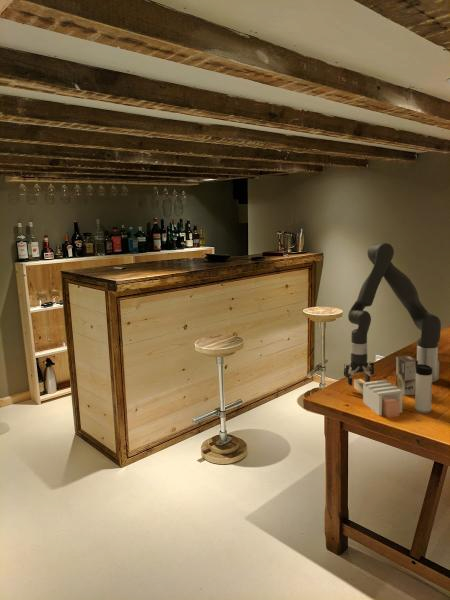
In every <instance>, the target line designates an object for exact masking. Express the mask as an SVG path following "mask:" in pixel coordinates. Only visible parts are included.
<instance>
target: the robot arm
mask: <svg viewBox="0 0 450 600" xmlns="http://www.w3.org/2000/svg"><path fill="white" fill-rule="evenodd" d="M394 255H395V249H394V247H393V246H392V245H391V244H390V243H388V242H380V243H374V244H371V245H370V246H369V247H368V248H367V257H368V260H369V261H370V263H371V264H372V265H373V267H372V269H371V271H370V273H369V275H367V277H366V279H365V280H364V282H363V283H362V285H361V288H360V289H359V290H360V291H359V293H358V296H357V299H356V300H355V302H354V303H353V305H352V306H351V307H350V310H349V311H348V314H347V315H348V316H347V318H348V321H349V322H350V323H351V324H352V325H353V324H354V325H357V326H358V327H357V328H355V329H353V330H352V331H351V339H350V340H351V342H350V364H347V363H344V365H343V376H344V377H345V378H347V384H348V385H349V386H353V377H354V376H355V375H356V374H358V373H365V382H371V376H372V375H374V374H375V364H374V362H373V361H371V360H369V361H368V352H369V350H368V333H369V330H370V326H371V323H372V316H371V313H369V311H367V310H365V308H367V307H371V306H372V305H373V303H374V300H375V297H376V294H377V291H378V288H379V285H380V284H381V281H382V280H383V279H384V280H385V281H386V282H387V284H388V286H389V287H390V288H391V290H392V292H393V293H394V295H395V296H396V298H397V299H398V300H399V301H400V303H401V304H402V306H403V307H404V308H405V309H406V311H407V312H408V314H409V316H410V318H411V319H412V321H413V323H414V325H415V327H416V328H417V329H418V330H420V331H421V334H420V338H418V339H417V341H416V360H418V364H423V365H428V366H429V367H431V368H432V383H436V382H437V381H439V380H440V378H439V377H440V360H438V355H439V354H438V353H439V352H438V351H439V343H440V341H441V331H442V330H441V329H442V328H441V327H442V324H441V323H442V322H441V319H440V318H439V317H438V316H437V315H435V314H433V313H430V312H429V311H428V310H427V309H426V308H425V306H424V305H423V304H422V302H421V301H420V298H419V293H418V289H417V288H416V286H415V285H414V283H413V282H412V280H411V279H410V278H409V277H408V276H407V275H406V274H405V273H404V272H403V271H401V269H399V268H397V266H396V265H394V264H393V263H392V260H393V257H394ZM367 368H368V369H367Z"/></svg>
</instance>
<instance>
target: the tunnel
mask: <svg viewBox="0 0 450 600" xmlns="http://www.w3.org/2000/svg"><path fill="white" fill-rule="evenodd" d="M382 396H384V397H385V398H394V399H396V400H397V401H398V402H400V413H403V394H402V390H400V389H397V387H396V385H393V383H391V382H388V380H386V379H381V380H374V381H370V382H366V381H364V384H363V395H362V403H364V405H366V406H367V407H368V408H369V409H371V411H373V412H375V414H377V415H378V416H382V415H383V413H382Z"/></svg>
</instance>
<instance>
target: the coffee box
mask: <svg viewBox="0 0 450 600" xmlns="http://www.w3.org/2000/svg"><path fill="white" fill-rule="evenodd" d="M395 361H396V363H395V367H396V369H395V374H396V376H395V379H396V380H395V386H396V387H397V389H400V390H402V395H404V396H411V395H412V396H413V395H415V385H416V367H415V365H417V364H418V360H417V358H414V357H413V356H411V355H410V354H407V355H399V356H395Z"/></svg>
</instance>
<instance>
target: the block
mask: <svg viewBox="0 0 450 600" xmlns="http://www.w3.org/2000/svg"><path fill="white" fill-rule="evenodd" d="M383 413H384V414H383ZM382 414H383V415H385V417H387V418H393V417H400V416H401V415H400V402H398V401H397V400H396V399H394V398H387V399H382Z"/></svg>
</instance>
